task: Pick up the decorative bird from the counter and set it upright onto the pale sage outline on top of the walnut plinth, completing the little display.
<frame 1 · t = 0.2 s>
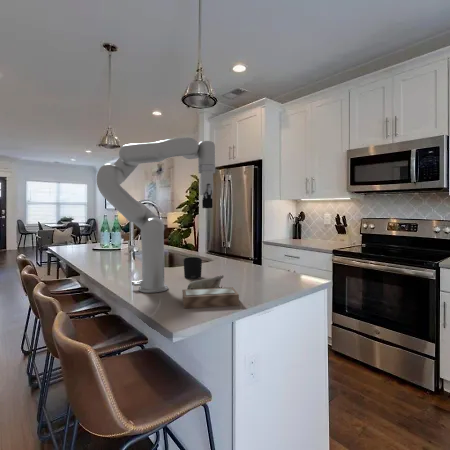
hand: (207, 208, 140), 36 cm above the countertop, tool pointing down, fingers open, 9 cm apart
decorative bird: (206, 294, 131), on the countertop
walnut plinth: (209, 302, 118), on the countertop
pen holder: (192, 278, 163), on the countertop
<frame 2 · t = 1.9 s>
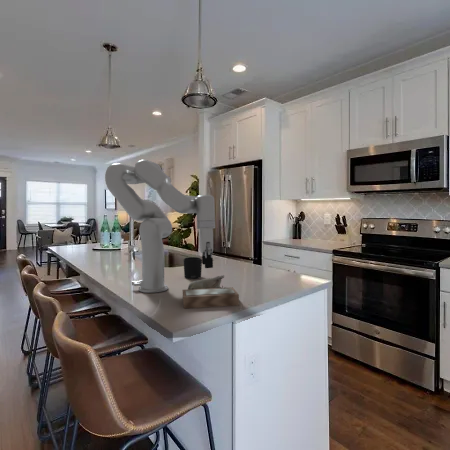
hand: (207, 266, 130), 12 cm above the countertop, tool pointing down, fingers open, 9 cm apart
nothing on the countertop moved.
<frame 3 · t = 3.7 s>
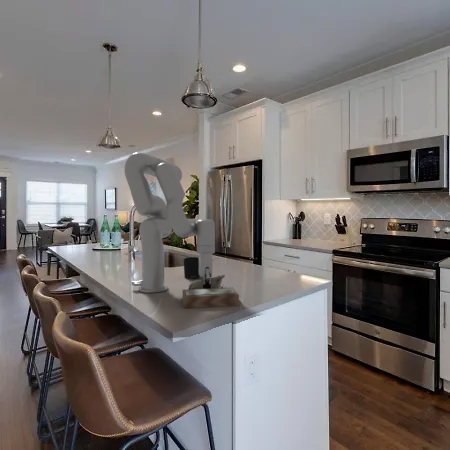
hand: (206, 291, 131), 1 cm above the countertop, tool pointing down, fingers closed on decorative bird, 5 cm apart
decorative bird: (207, 294, 131), on the countertop, touching gripper
everything else where it was.
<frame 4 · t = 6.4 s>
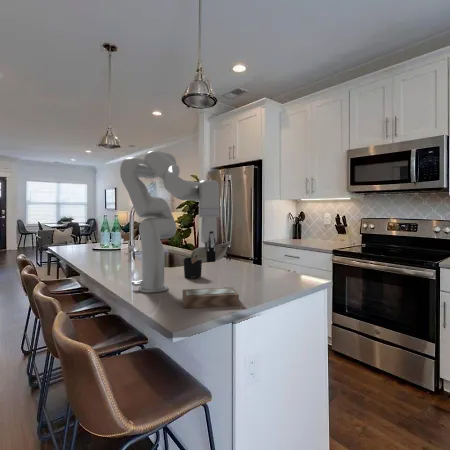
hand: (209, 260, 119), 16 cm above the countertop, tool pointing down, fingers closed on decorative bird, 5 cm apart
decorative bird: (211, 263, 119), point 15 cm above the countertop, touching gripper
everything else where it was.
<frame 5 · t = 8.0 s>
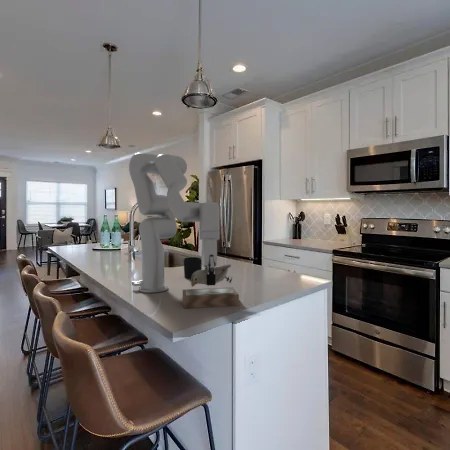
hand: (210, 282, 118), 8 cm above the countertop, tool pointing down, fingers closed on decorative bird, 5 cm apart
decorative bird: (211, 285, 118), point 6 cm above the countertop, touching gripper
everything else where it was.
when the fingers open (6 cm above the countertop, at t = 9.1 s): decorative bird drops 1 cm, resting on walnut plinth.
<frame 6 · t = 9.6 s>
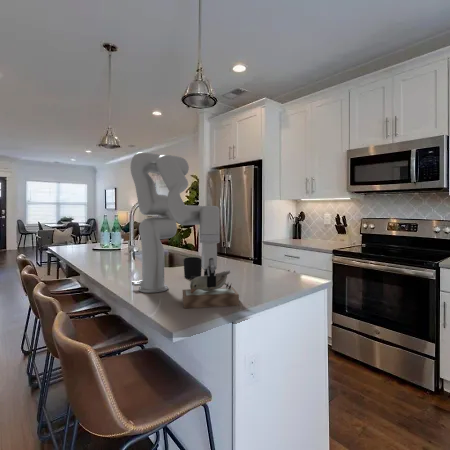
hand: (209, 283, 118), 7 cm above the countertop, tool pointing down, fingers open, 9 cm apart
decorative bird: (210, 291, 118), point 4 cm above the countertop, touching walnut plinth
everything else where it was.
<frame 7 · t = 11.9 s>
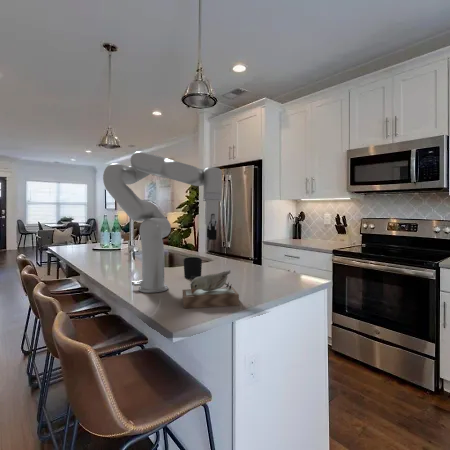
hand: (211, 238, 131), 23 cm above the countertop, tool pointing down, fingers open, 9 cm apart
nothing on the countertop moved.
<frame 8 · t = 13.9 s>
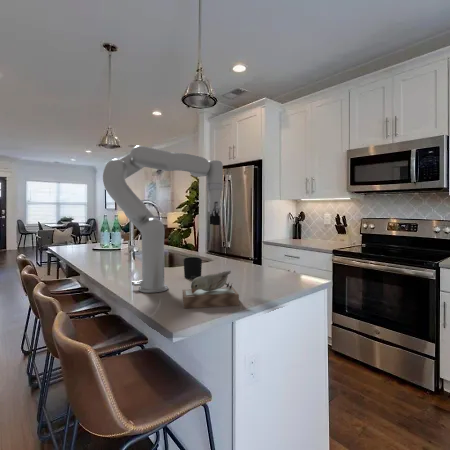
hand: (214, 224, 145), 28 cm above the countertop, tool pointing down, fingers open, 9 cm apart
nothing on the countertop moved.
at the end: decorative bird inside the target area on the walnut plinth (0.7 cm from its centre), point 4.0 cm above the walnut plinth's base; decorative bird tilted 1°; the gripper is holding nothing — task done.
